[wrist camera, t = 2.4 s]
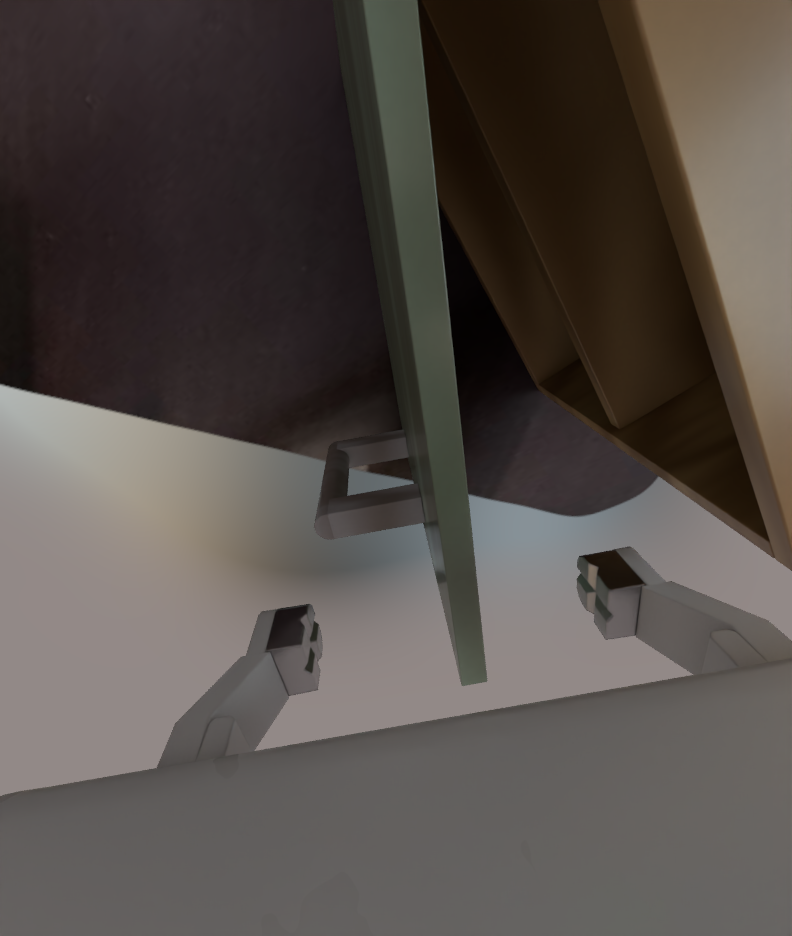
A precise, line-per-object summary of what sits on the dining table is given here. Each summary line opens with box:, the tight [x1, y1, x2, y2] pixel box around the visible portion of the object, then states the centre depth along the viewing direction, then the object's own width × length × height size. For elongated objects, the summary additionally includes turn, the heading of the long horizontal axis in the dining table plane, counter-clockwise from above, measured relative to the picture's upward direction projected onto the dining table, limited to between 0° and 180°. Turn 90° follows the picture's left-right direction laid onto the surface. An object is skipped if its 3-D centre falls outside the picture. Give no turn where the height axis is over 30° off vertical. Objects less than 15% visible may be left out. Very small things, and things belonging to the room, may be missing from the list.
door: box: [314, 0, 487, 686], centre depth 21 cm, size 7×26×24 cm, turn 9°
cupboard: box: [417, 0, 792, 571], centre depth 18 cm, size 18×26×24 cm
